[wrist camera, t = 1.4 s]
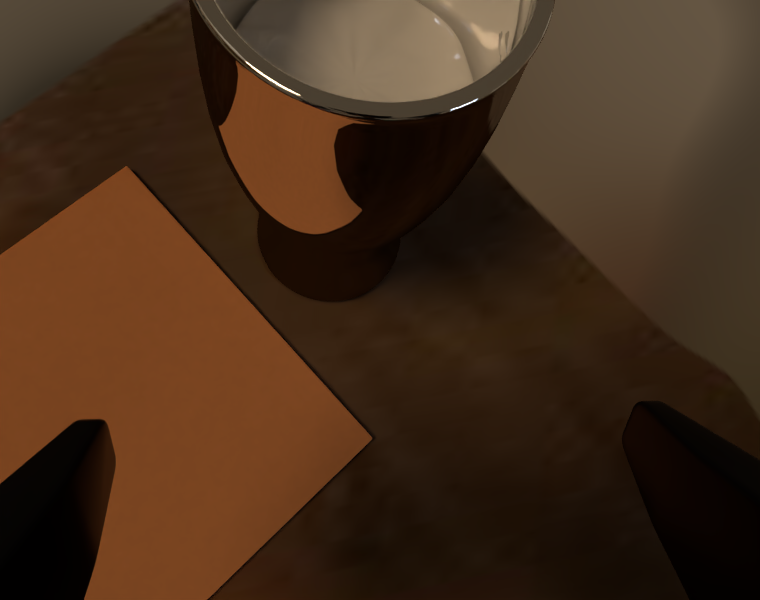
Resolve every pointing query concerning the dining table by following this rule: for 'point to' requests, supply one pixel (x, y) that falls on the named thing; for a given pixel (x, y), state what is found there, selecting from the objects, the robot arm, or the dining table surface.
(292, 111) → the beer glass
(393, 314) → the dining table surface
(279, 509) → the cloth
